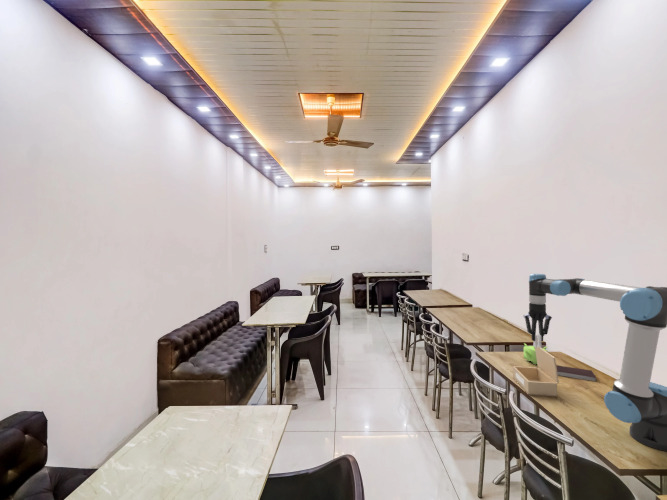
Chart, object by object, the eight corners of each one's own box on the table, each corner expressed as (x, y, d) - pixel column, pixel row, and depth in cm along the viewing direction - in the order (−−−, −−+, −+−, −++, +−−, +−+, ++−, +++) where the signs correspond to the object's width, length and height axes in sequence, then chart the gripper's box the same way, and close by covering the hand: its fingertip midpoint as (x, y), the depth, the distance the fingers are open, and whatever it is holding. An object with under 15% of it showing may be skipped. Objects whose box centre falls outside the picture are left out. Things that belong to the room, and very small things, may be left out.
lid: (557, 382, 169) (559, 382, 168) (553, 357, 169) (555, 357, 169) (537, 366, 191) (539, 366, 191) (534, 344, 191) (535, 344, 191)
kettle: (523, 357, 228) (523, 341, 228) (547, 360, 221) (547, 344, 220) (522, 363, 216) (522, 347, 215) (548, 368, 208) (548, 350, 208)
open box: (557, 396, 169) (557, 383, 169) (528, 394, 172) (528, 381, 171) (538, 379, 191) (538, 367, 191) (512, 377, 193) (512, 366, 193)
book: (553, 369, 207) (553, 364, 207) (591, 374, 198) (591, 369, 198) (556, 376, 196) (556, 370, 196) (596, 382, 187) (596, 376, 187)
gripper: (548, 301, 171) (548, 345, 172) (519, 301, 174) (519, 344, 174) (556, 304, 164) (555, 349, 164) (525, 303, 167) (525, 348, 167)
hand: (537, 346), depth 169 cm, fingers closed
